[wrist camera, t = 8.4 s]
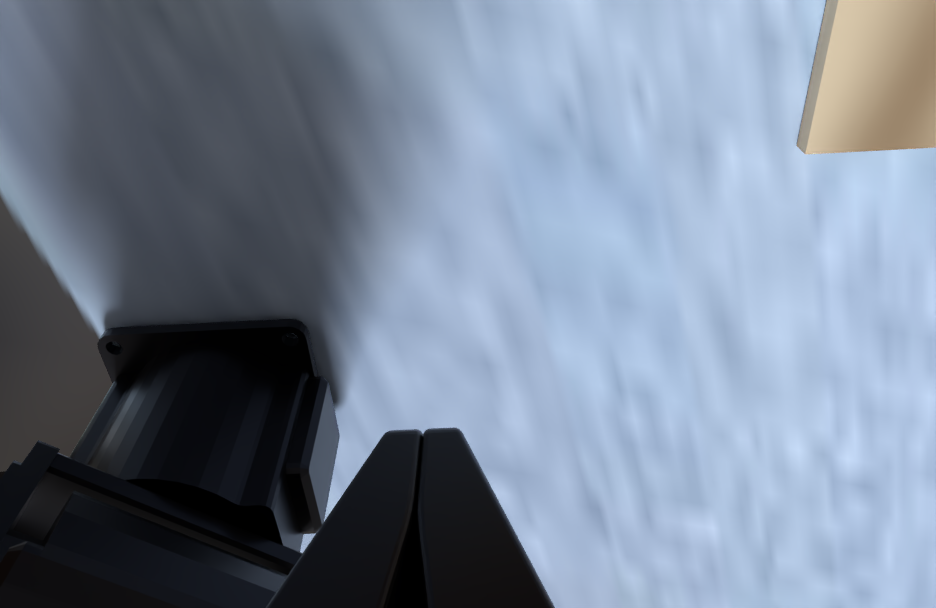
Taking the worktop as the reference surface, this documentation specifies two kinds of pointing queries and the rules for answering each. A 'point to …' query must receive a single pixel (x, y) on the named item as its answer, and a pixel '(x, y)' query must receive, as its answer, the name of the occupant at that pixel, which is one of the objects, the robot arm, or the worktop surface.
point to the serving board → (872, 78)
